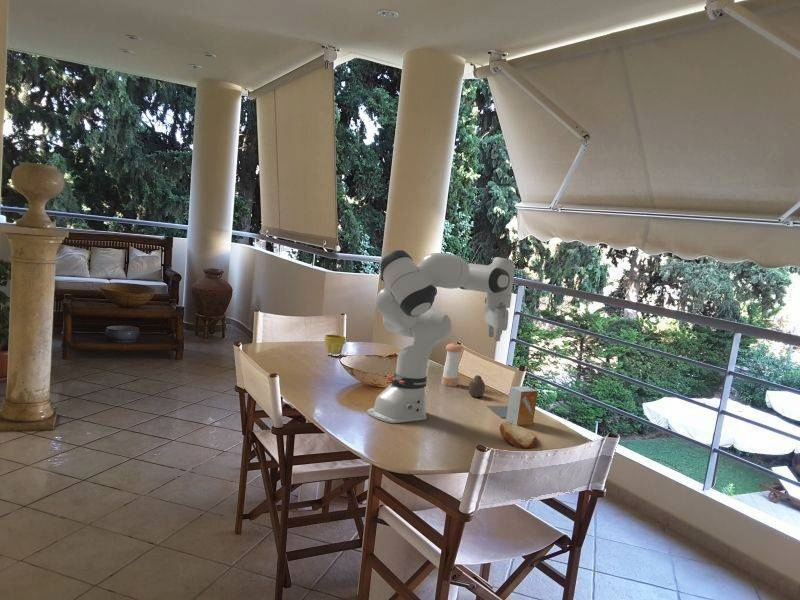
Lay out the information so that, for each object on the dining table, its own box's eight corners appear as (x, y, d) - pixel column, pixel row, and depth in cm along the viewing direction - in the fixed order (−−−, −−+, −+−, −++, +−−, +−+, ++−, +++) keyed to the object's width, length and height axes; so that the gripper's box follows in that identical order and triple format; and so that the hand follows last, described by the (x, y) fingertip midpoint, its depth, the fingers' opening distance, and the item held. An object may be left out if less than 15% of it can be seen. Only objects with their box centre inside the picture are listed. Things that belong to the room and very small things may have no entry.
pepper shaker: (457, 383, 269) (462, 341, 267) (457, 387, 262) (462, 344, 259) (441, 381, 269) (446, 339, 267) (441, 385, 262) (446, 342, 260)
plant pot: (335, 352, 305) (337, 333, 304) (347, 356, 298) (349, 337, 296) (319, 353, 298) (320, 334, 297) (331, 358, 291) (333, 338, 289)
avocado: (479, 399, 245) (482, 379, 244) (464, 395, 249) (467, 375, 248) (486, 396, 251) (489, 376, 250) (471, 392, 255) (474, 373, 254)
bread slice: (504, 425, 216) (505, 415, 215) (550, 440, 205) (551, 430, 204) (478, 435, 202) (480, 425, 201) (526, 452, 191) (528, 441, 190)
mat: (528, 418, 226) (528, 417, 226) (501, 418, 223) (501, 417, 223) (512, 407, 239) (512, 406, 239) (486, 406, 237) (487, 405, 236)
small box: (516, 426, 216) (521, 391, 214) (505, 420, 221) (510, 386, 220) (533, 424, 220) (538, 390, 218) (522, 419, 225) (526, 385, 224)
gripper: (514, 305, 208) (509, 344, 209) (499, 299, 228) (495, 335, 229) (497, 303, 207) (492, 342, 208) (483, 298, 227) (479, 333, 228)
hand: (493, 338), depth 219 cm, fingers open, 8 cm apart
